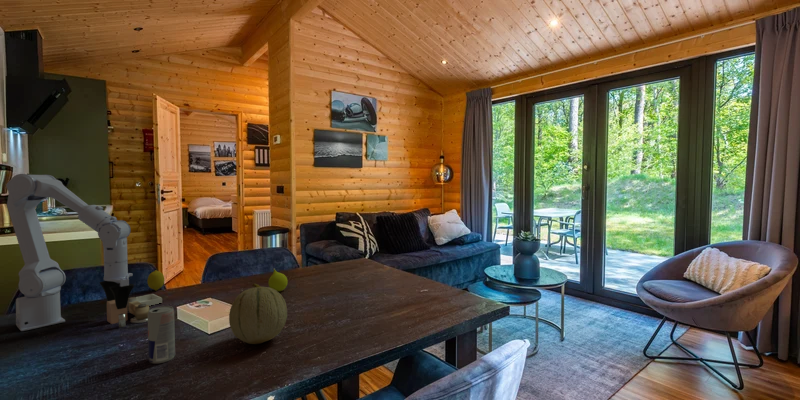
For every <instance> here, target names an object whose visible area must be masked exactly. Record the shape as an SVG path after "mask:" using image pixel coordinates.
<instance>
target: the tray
mask: <svg viewBox="0 0 800 400" xmlns="http://www.w3.org/2000/svg"><path fill="white" fill-rule="evenodd" d="M136 301H138V302H140V303H141V304H146V305H149V306H150V307H152V306H151V305H154V306H156V305H155V304H159V303H162V304H163V297H161V296H158V295H157V294H154V293H150V294H145V295H140V296H136ZM159 305H160V304H159Z"/></svg>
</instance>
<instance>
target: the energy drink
mask: <svg viewBox="0 0 800 400" xmlns="http://www.w3.org/2000/svg"><path fill="white" fill-rule="evenodd" d="M175 327H176V326H175V309H174V307H173V306H171V305H161V306H156V307H153V308H149V312H148V321H147V342H148V343H147V344H148V346H147V349H148V362H149V363H150V364H163V363H166V362H169V361H171V360H172V359H174V357H175V356H176V343H175V342H176V340H175V339H176V337H175V336H176V334H175V333H176V332H175V329H176V328H175Z"/></svg>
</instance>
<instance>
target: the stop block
mask: <svg viewBox="0 0 800 400" xmlns="http://www.w3.org/2000/svg"><path fill="white" fill-rule="evenodd" d="M122 313H125V314H126V322H127V321H128V312H127V306H126V308H123V309H117V307H116V303H115V300H112V301H106V322H108V323H110V325H113V324H119V314H122Z"/></svg>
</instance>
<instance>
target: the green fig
mask: <svg viewBox="0 0 800 400" xmlns="http://www.w3.org/2000/svg"><path fill="white" fill-rule="evenodd" d="M272 271H273V272H272V274H271V276H270V277H269V279H268V282H267V283H268V287H269V288H272V289H275V290H276V291H277V292H279V293H280V292H282V291H284V290H285V289H286V288H287V285H288V282H289V280H288V277H287V276H286V275H285V274H284V273H281V272H278V271H277V270H276V268H274V267H273V268H272Z"/></svg>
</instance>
